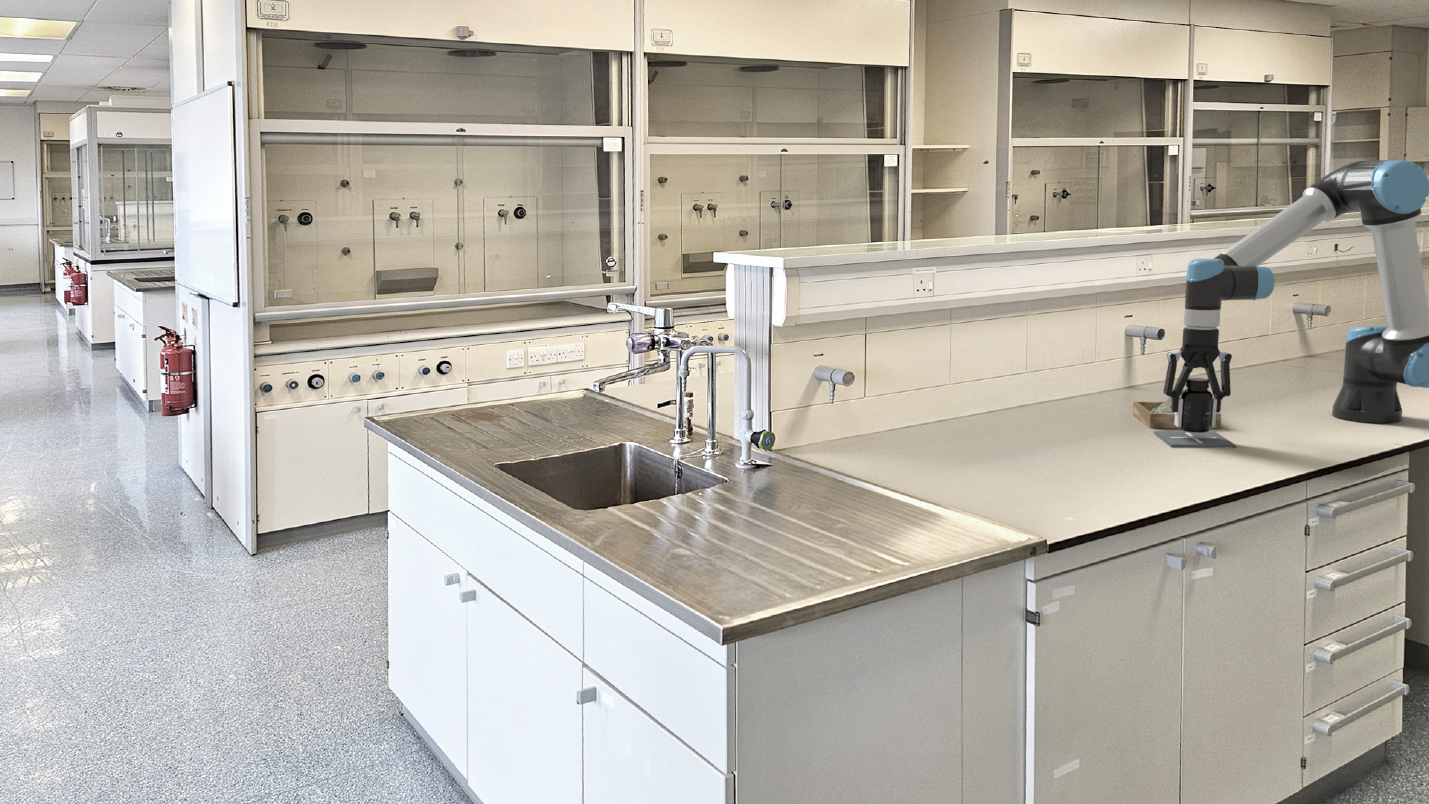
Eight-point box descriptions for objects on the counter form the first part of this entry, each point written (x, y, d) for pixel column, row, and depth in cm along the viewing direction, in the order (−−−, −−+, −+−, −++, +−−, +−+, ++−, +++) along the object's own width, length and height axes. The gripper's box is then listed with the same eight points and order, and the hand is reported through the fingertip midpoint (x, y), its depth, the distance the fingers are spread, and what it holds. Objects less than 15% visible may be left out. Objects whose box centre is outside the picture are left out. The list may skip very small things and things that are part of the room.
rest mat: (1214, 433, 261) (1215, 430, 261) (1235, 447, 248) (1236, 444, 247) (1153, 433, 263) (1153, 430, 263) (1171, 447, 249) (1171, 444, 249)
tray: (1199, 415, 282) (1200, 401, 281) (1220, 428, 267) (1221, 414, 266) (1132, 414, 284) (1133, 401, 283) (1149, 427, 269) (1150, 413, 268)
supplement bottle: (1213, 433, 251) (1217, 381, 248) (1181, 432, 252) (1184, 381, 250) (1206, 427, 257) (1209, 376, 255) (1175, 426, 259) (1178, 376, 256)
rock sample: (1134, 400, 283) (1163, 381, 278) (1154, 417, 285) (1183, 398, 280) (1140, 425, 275) (1169, 405, 270) (1160, 442, 277) (1190, 423, 272)
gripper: (1240, 325, 253) (1233, 422, 257) (1151, 325, 255) (1145, 422, 259) (1252, 329, 245) (1245, 429, 250) (1161, 329, 247) (1154, 429, 252)
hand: (1194, 425), depth 254 cm, fingers closed on supplement bottle, 7 cm apart
